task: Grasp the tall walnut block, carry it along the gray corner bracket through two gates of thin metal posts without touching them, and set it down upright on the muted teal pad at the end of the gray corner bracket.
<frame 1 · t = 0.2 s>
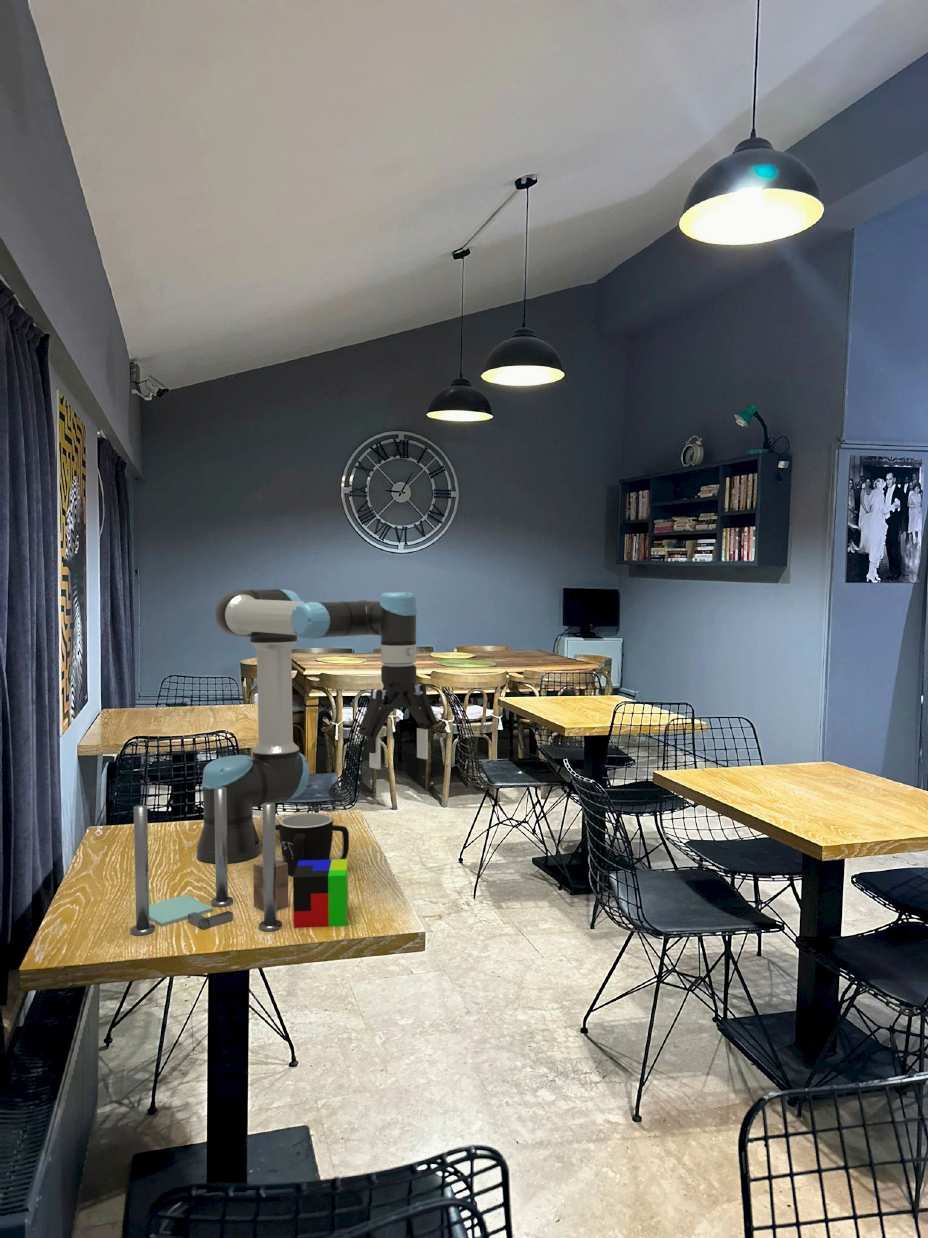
hand: (399, 763, 186), 28 cm above the table, fingers open, 13 cm apart
mug: (306, 872, 200), on the table
walnut block: (271, 906, 178), on the table
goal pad: (174, 911, 176), on the table
gray corner bracket: (204, 927, 167), on the table
puzzle toy: (321, 918, 172), on the table
post C: (142, 931, 166), on the table
post B: (270, 927, 167), on the table
post A: (222, 903, 180), on the table
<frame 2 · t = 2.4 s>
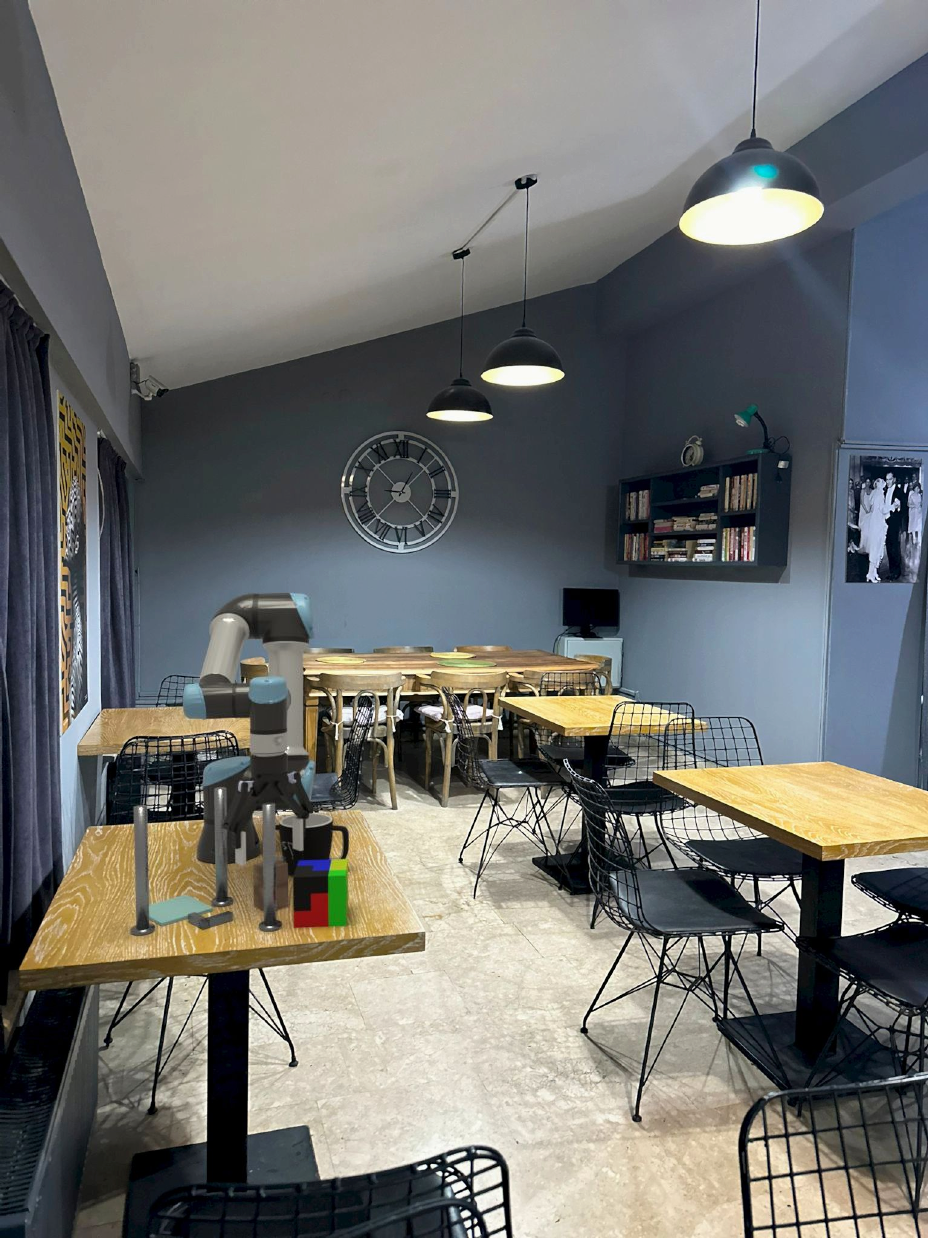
hand: (270, 856, 177), 11 cm above the table, fingers open, 13 cm apart
nothing on the table moved.
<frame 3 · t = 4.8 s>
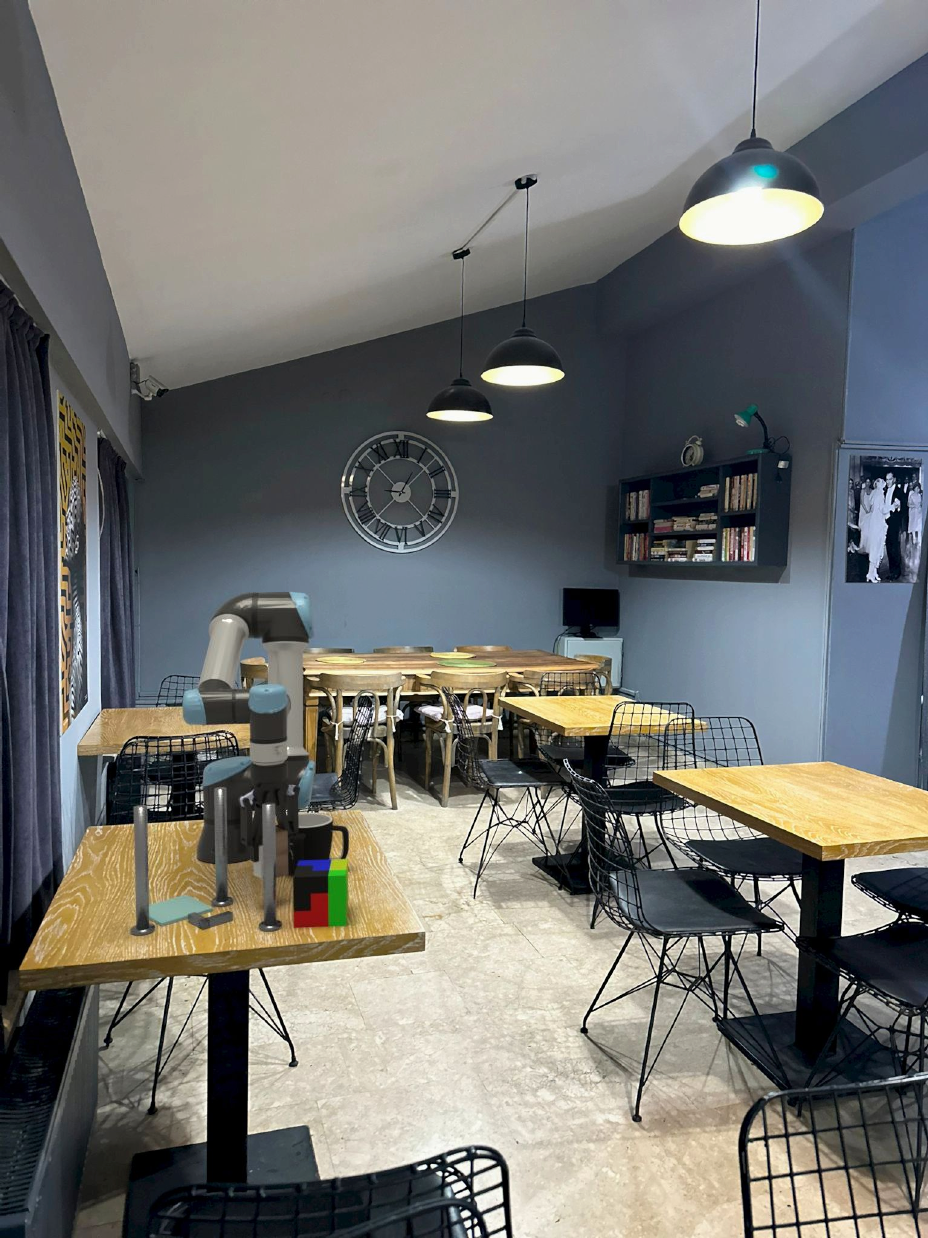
hand: (270, 872, 178), 7 cm above the table, fingers closed on walnut block, 5 cm apart
walnut block: (271, 874, 178), point 7 cm above the table, touching gripper
everything else where it was.
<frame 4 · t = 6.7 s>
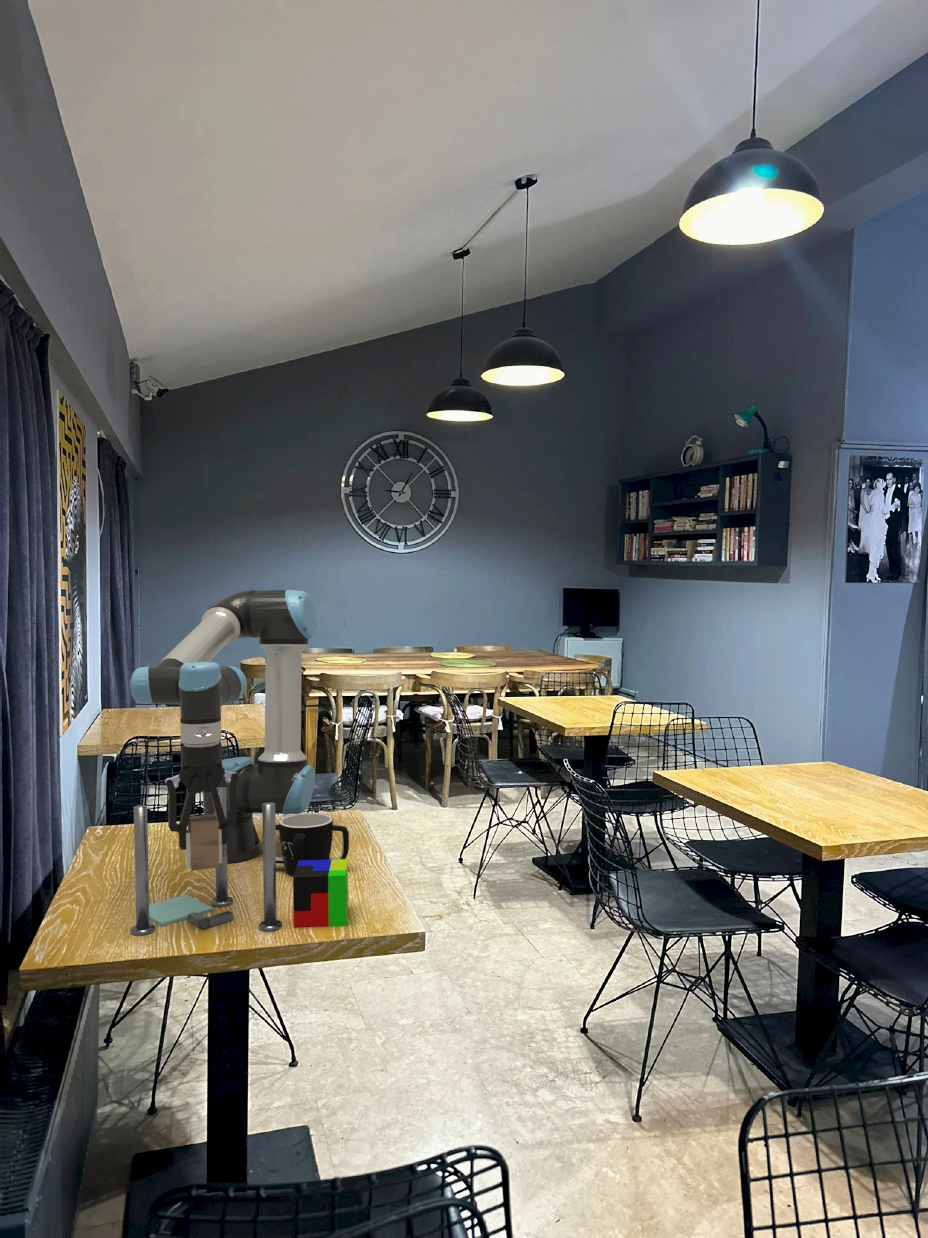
hand: (203, 863, 167), 13 cm above the table, fingers closed on walnut block, 5 cm apart
walnut block: (203, 865, 167), point 12 cm above the table, touching gripper
everything else where it was.
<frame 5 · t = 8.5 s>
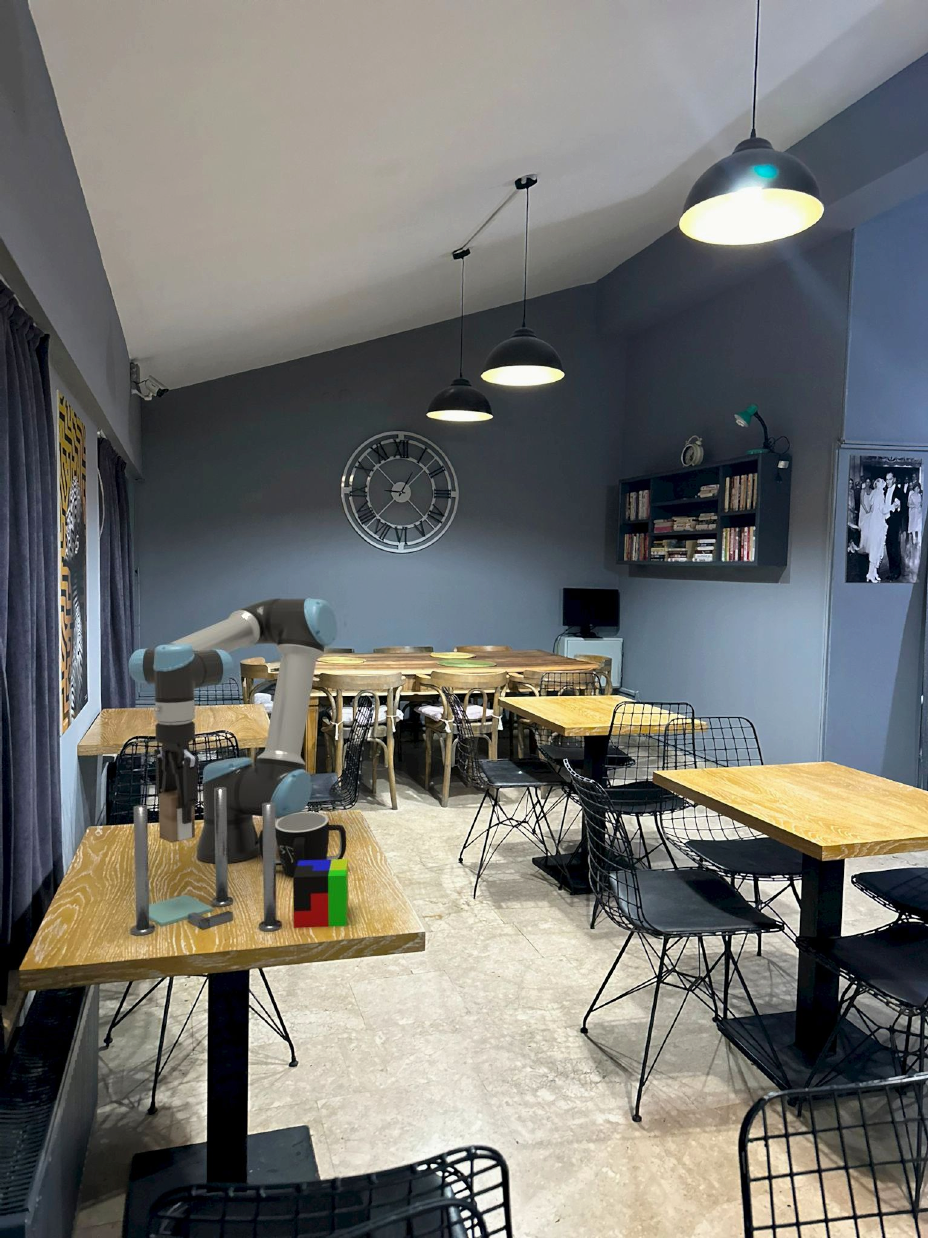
hand: (177, 835, 175), 15 cm above the table, fingers closed on walnut block, 5 cm apart
mug: (304, 871, 200), on the table, touching arm
walnut block: (177, 837, 175), point 15 cm above the table, touching gripper
everything else where it was.
when the fingers open (1 cm above the table, at t = 10.9 s): walnut block stays where it is, resting on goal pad.
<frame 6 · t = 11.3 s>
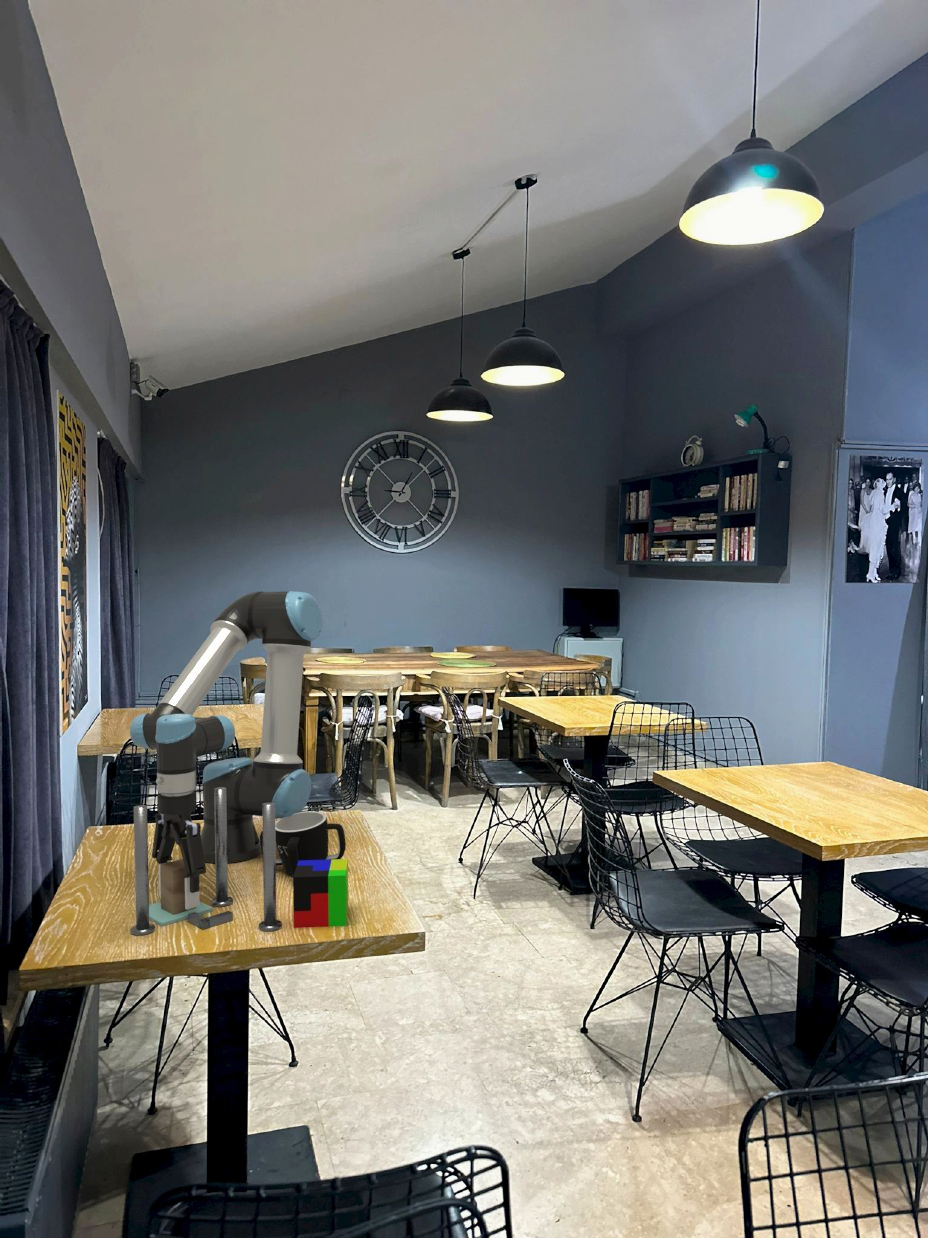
hand: (178, 900, 176), 2 cm above the table, fingers open, 10 cm apart
walnut block: (178, 908, 176), point 1 cm above the table, touching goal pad
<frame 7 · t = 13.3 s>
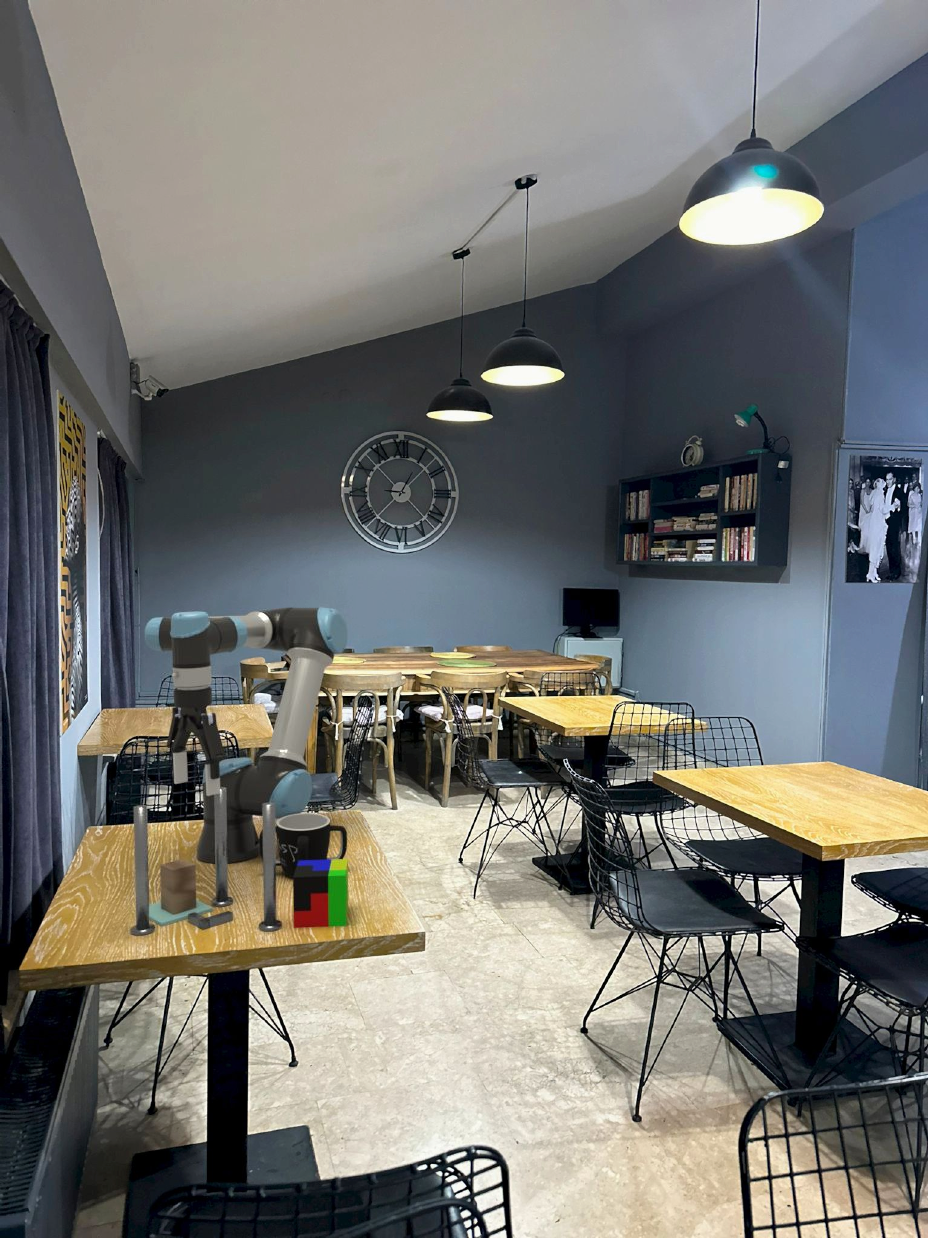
hand: (196, 788, 180), 24 cm above the table, fingers open, 13 cm apart
mug: (303, 872, 199), on the table, touching arm
everything else where it was.
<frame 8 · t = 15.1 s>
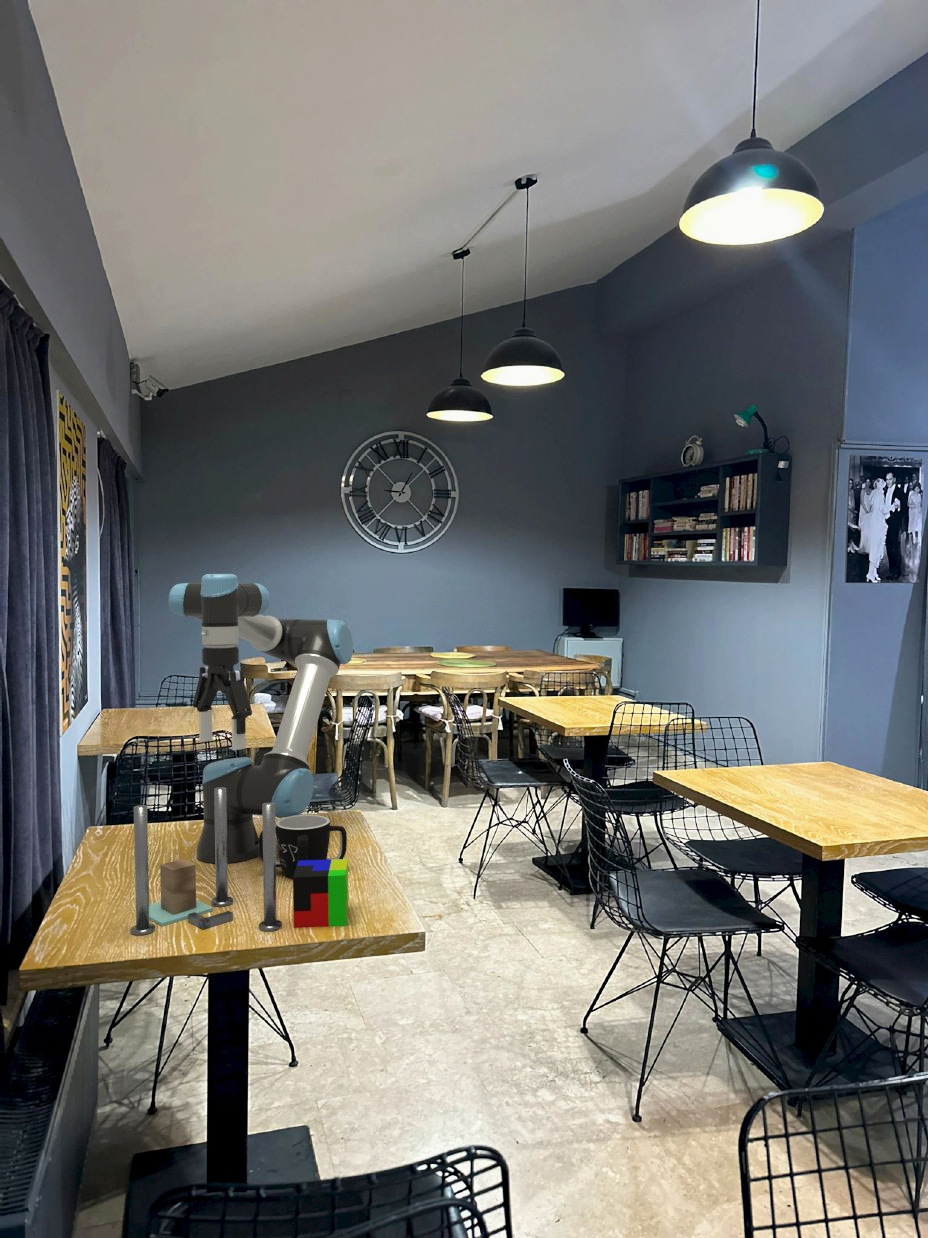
hand: (222, 745, 186), 32 cm above the table, fingers open, 13 cm apart
mug: (303, 874, 199), on the table
everything else where it was.
at the end: walnut block 0.9 cm from the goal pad (horizontally); walnut block point 0.6 cm above the table; the gripper is holding nothing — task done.
